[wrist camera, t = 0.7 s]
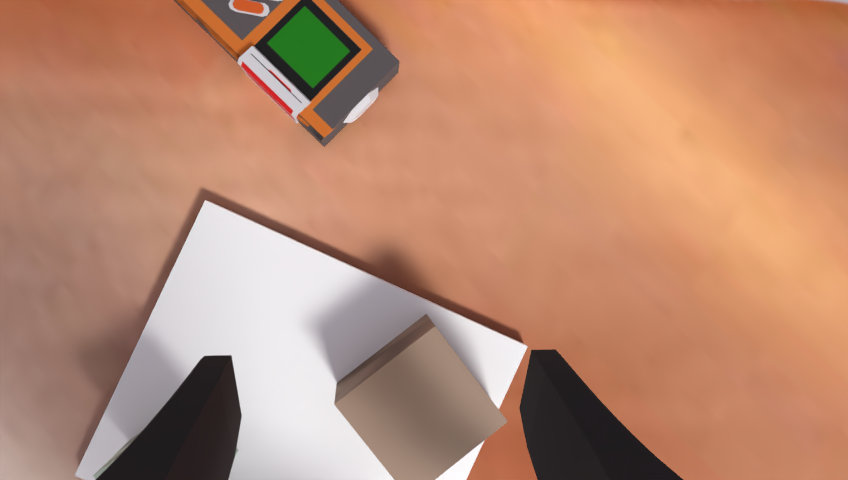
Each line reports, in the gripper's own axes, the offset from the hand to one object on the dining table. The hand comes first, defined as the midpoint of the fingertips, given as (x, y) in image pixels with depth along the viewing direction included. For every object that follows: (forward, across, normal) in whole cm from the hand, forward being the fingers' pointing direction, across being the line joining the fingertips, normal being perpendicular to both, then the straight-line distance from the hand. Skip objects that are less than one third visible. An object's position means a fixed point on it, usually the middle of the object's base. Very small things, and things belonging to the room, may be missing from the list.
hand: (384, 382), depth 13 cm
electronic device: (+27, +6, -3) cm, 28 cm away
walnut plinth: (+15, -2, +16) cm, 22 cm away
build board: (+15, +4, +17) cm, 23 cm away
